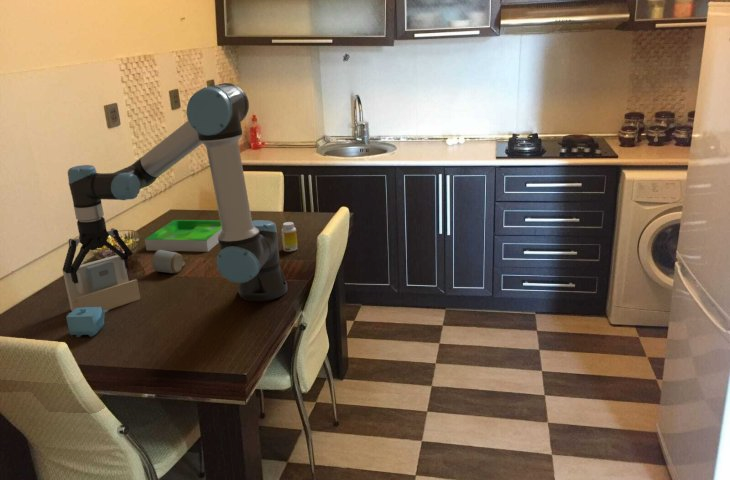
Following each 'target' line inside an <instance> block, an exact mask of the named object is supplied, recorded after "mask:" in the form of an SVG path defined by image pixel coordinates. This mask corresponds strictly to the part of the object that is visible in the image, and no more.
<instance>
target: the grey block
mask: <svg viewBox="0 0 730 480" xmlns="http://www.w3.org/2000/svg"><path fill="white" fill-rule="evenodd" d="M86 270H87V275H88V280H89V285H90V290H91V293H92V292H96V291H99V290H102V289H105V288H109V287H112V286H115V285H118V284H117V278H116V273H115V267H114V263H112V262H110V261H106V262H103V263H99V264H95V265H92V266H88V267H86Z"/></svg>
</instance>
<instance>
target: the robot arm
mask: <svg viewBox="0 0 730 480" xmlns="http://www.w3.org/2000/svg"><path fill="white" fill-rule="evenodd" d="M249 109H250V102H249V99H248V96H247V94H246V92H245V91H244V90H243V89H242V88H241V87H240V86H238V85H236V84H234V83H228V82H226V83H225V82H224V83H223V82H222V83H219V84H215V85H211V86H210V85H209V86H206V87H203V88H201V89H199V90H197V91H195V93H194V94H192V95H191V97H190V98H189V100H188V103H187V105H186V117H187V118H186V119H187V121H186V122H185V123H183V124H182V125H181V126H179V127H178V128H177V129H175V130H174V131H173V132H172V133H171V134H169V135H168V136H167V137H165V138H164V139H162V141H160V142H159V143H158V144H156V145H155V146H154V147H152V149H150V150H148V152H146V153H145V154H144V155H143V156H141V157H140V158H139V159H137V160H136V161H135V162H134V163H132V164H130V165H129V166H127V167H124V168H122V169H119V170H117V171H115V172H110V173H109V172H107V173H103V172H102V173H100V172H97V169H96V167H95V166H94V165H92V164H91V165H90V164H82V165H76V166H72V167H70V168H69V169H68V170H67V176H68V177H67V178H68V185H69V189H70V194H71V198H72V202H73V203H72V204H73V208H74V215H75V219H76V220H77V221H76V225H77V229H78V234H79V236H78V238H75V239H73V238H69V239H68V248H67V253H66V255H65V256H66V257H65V260H64V264H63V266H62V272H63V271H64V272H66V273H71V278H72V282H73V283H75V284H76V285H77V290H78V292H79V293H81V294H82V293H84V291H83V286H82V281H81V277H80V273H79V272H78V269H79V267H80V265H82V263H83V262H84V260H85V258H86V256H87V254H89V252H90V251H96V250H97V249H102V248H104V247H106V248H108V249H109V250H110V251H111V252H112V253H114V254H115V255H118V256H120V257H121V258H119V259H118V261H119V267H120V273H121V278H122V279H124V280H129V278H128V279H127V275H128V273H127V274H126V269H128V268H129V263H128V260H129V257H130V256H133V252H132V251H131V249H130V248H129V247H128V245H127V244H126V243H125V241H124V240H123V239H122V238H121V236H120V234H119V231H118V229H115V228H113V227H112V228H111V229H110V230H107V226H106V225H107V224H106V219H105V217H104V210H103V205H102V200H111V201H112V200H116V201H117V200H118V201H128V200H134V199H136V198H137V197H138V194H139V193H140V191H141V189H143V188H146V187H149V186H151V185H152V184H154V182H155V181H156V180H157V178H159V177H160V176H162V175H163V174H164V173H165V172H167V171H168V170H169V169H170V168H172V167H173V166H175V165H176V164H178V162H180V161H181V160H183V159H184V158H185V157H187V156H188V155H189V154H190V153H192V152H193V151H194V150H196V149H197V148H198V147H200V146H201V145H204V146H205V147H206V153H207V159H208V164H209V168H210V174H211V179H212V184H213V190H214V195H215V200H216V204H217V206H216V207H217V209H218V210H217V211H218V216H219V220H220V222H221V227H222V231H221V233H220V234H219V235H218V241H219V243H218V245H219V250H220V251H219V252H218V254H217V256H216V262H215V263H216V268H217V270H218V272H219V273H220V275H221V276H222V277H223V278H225V279H226V280H228V281H229V282H231V283H235V284H239V285H238V295H239V297H240V298H241V299H243V300H246V301H248V302H249V301H250V302H267V301H268V302H269V301H271V300H276V299H279V298H280V297H283V296H284V295H285V294H287V292H288V282H287V279H286V277H285V275H284V272H283V270H282V268H281V263H280V252H279V239H278V231H277V230H278V229H277V225H276V223H275V222H274V221H272V220H264V219H259V220H258V219H255V220H252V213H251V209H250V202H249V199H248V198H249V197H248V191H247V186H246V185H247V184H246V180H245V173H244V169H243V168H244V167H243V163H242V157H241V156H242V155H241V152H240V146H239V145H240V144H239V141H240V139H241V138H242V136H243V129H242V124H241V123H242V122H243V120H245V118H246V117H247V115H248V113H249ZM109 236H110V237H111V238H113V239H114V241H115V242H116V243H117V244H118V246H119V247H120V248H121V250H123V251H121V250H120V249H118V248H116V246H114V245H113V244H112V243H110V242H109V241H108V239H109ZM79 244H81V246H80V249H79V252H78V254H77V255H76V252H77V247H78V246H79ZM75 255H76V256H75Z"/></svg>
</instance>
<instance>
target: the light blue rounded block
mask: <svg viewBox="0 0 730 480" xmlns="http://www.w3.org/2000/svg"><path fill="white" fill-rule="evenodd" d="M109 310H110V309H109ZM109 310H104V311H102V309H101V307H81V308H75V309H74V310H73V311H72V310H71V311H70V312H68V313H67V315H66V317H65V319H66V323H67V327H68V333H69V336H75V337H76V338H81V337H82V336H87V335H88V337H95V335H97V334H98V332H99V331H100V330H101V329H102V328H103V327H104V325H105V314H107V312H109Z"/></svg>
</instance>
